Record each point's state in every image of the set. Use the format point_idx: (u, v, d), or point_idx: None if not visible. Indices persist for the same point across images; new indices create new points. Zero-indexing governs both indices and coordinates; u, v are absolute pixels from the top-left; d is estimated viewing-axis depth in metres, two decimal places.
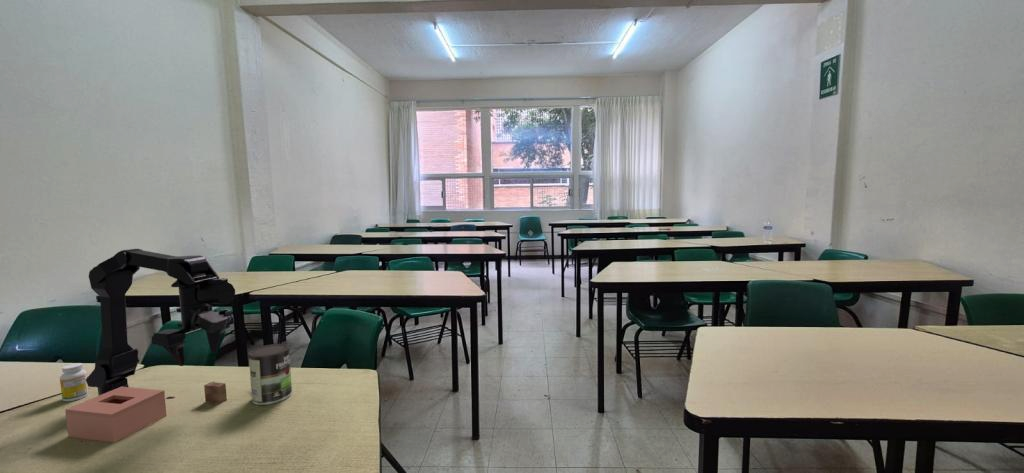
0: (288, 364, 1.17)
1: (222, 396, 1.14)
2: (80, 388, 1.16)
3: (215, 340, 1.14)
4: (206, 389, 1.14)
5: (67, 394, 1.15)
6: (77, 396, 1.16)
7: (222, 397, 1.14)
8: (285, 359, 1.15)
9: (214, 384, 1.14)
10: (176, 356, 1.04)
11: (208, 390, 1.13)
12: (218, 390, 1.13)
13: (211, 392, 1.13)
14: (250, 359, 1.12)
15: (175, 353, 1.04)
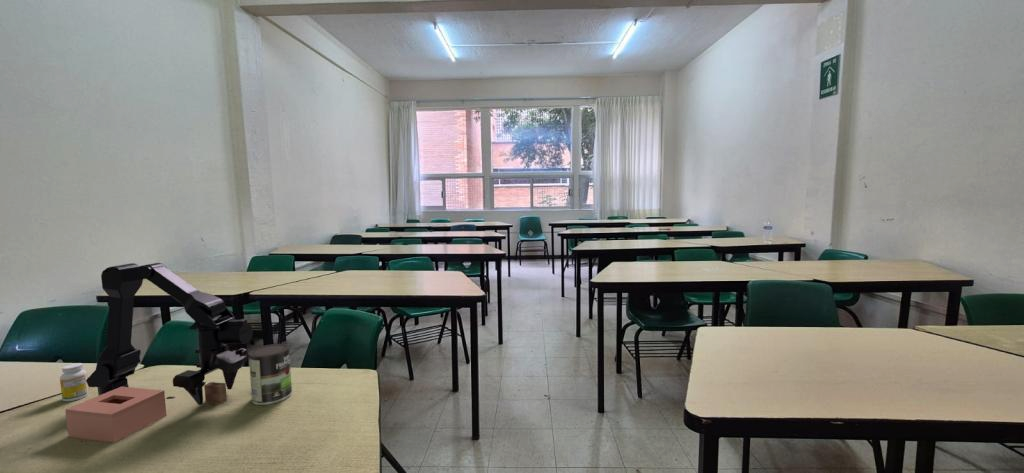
0: (288, 364, 1.17)
1: (222, 396, 1.14)
2: (80, 388, 1.16)
3: (231, 377, 1.19)
4: (206, 389, 1.14)
5: (67, 394, 1.15)
6: (77, 396, 1.16)
7: (222, 397, 1.14)
8: (285, 359, 1.15)
9: (214, 384, 1.14)
10: (195, 396, 1.09)
11: (208, 390, 1.13)
12: (218, 390, 1.13)
13: (211, 392, 1.13)
14: (250, 359, 1.12)
15: (194, 393, 1.08)
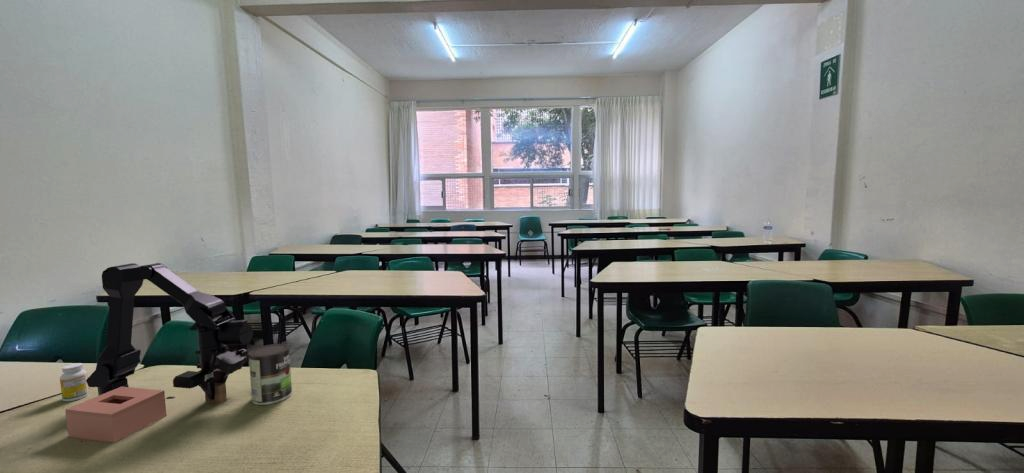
0: (288, 364, 1.17)
1: (222, 396, 1.14)
2: (80, 388, 1.16)
3: None
4: None
5: (67, 394, 1.15)
6: (77, 396, 1.16)
7: (222, 397, 1.14)
8: (285, 359, 1.15)
9: (214, 384, 1.14)
10: (207, 391, 1.12)
11: None
12: (218, 390, 1.13)
13: None
14: (250, 359, 1.12)
15: (206, 388, 1.12)
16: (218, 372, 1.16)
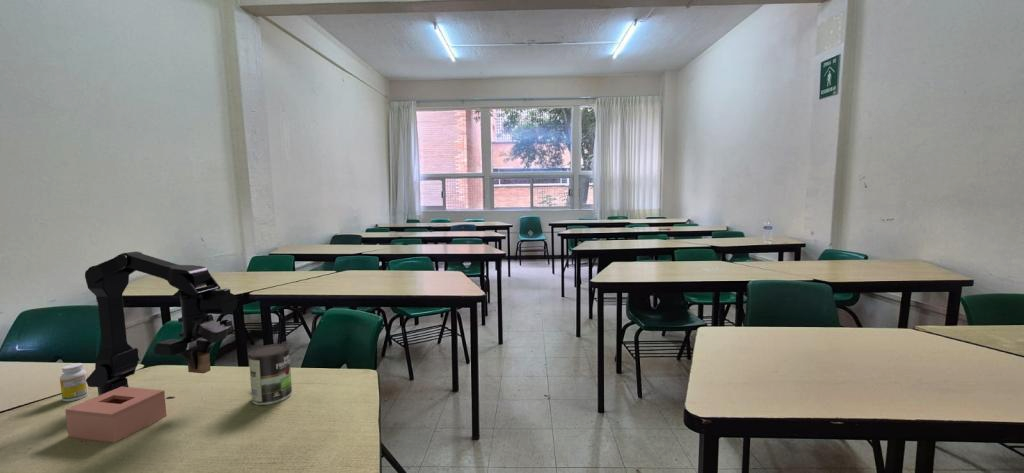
0: (288, 364, 1.17)
1: (206, 366, 1.11)
2: (80, 388, 1.16)
3: None
4: None
5: (67, 394, 1.15)
6: (77, 396, 1.16)
7: (206, 367, 1.11)
8: (285, 359, 1.15)
9: (197, 354, 1.11)
10: (190, 360, 1.09)
11: None
12: (202, 360, 1.10)
13: None
14: (250, 359, 1.12)
15: (189, 357, 1.09)
16: (202, 342, 1.13)
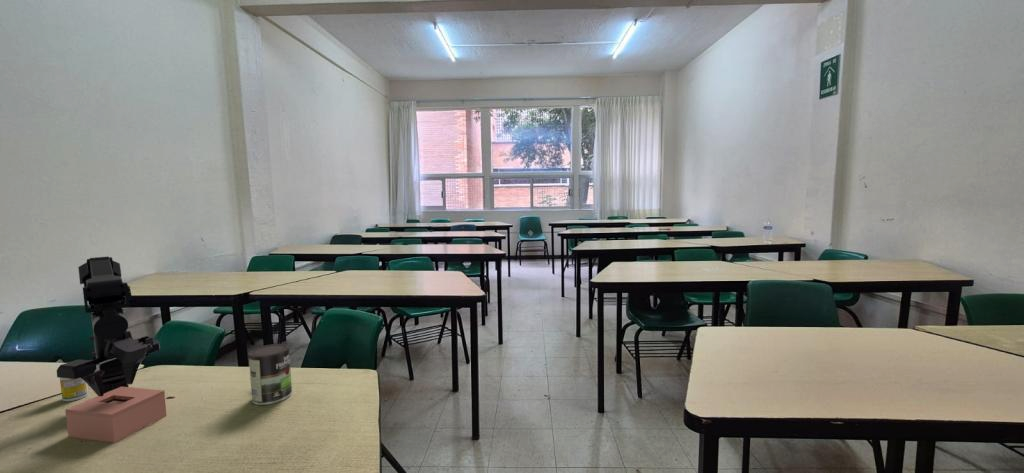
0: (288, 364, 1.17)
1: None
2: (80, 388, 1.16)
3: (131, 371, 1.04)
4: None
5: (67, 394, 1.15)
6: (77, 396, 1.16)
7: None
8: (285, 359, 1.15)
9: (117, 403, 1.02)
10: (94, 386, 0.97)
11: None
12: None
13: None
14: (250, 359, 1.12)
15: (93, 383, 0.97)
16: None
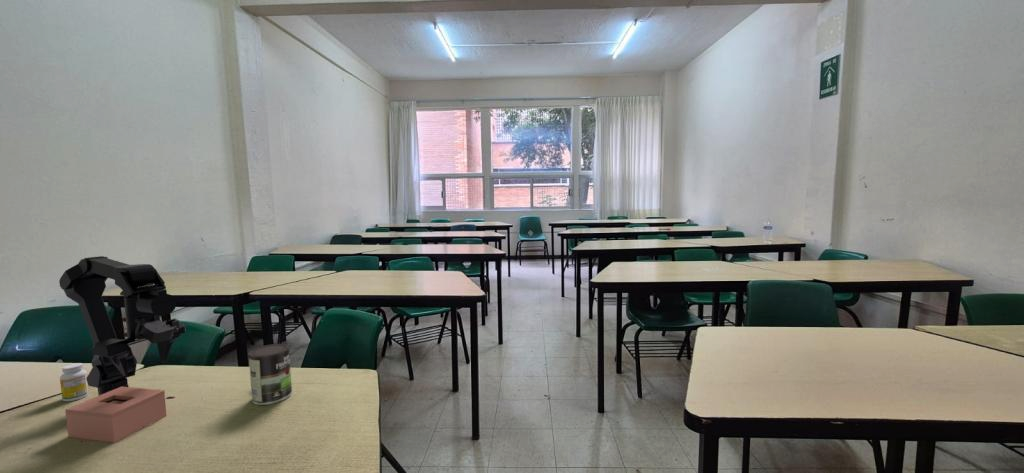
0: (288, 364, 1.17)
1: None
2: (80, 388, 1.16)
3: (165, 349, 1.12)
4: None
5: (67, 394, 1.15)
6: (77, 396, 1.16)
7: None
8: (285, 359, 1.15)
9: (117, 403, 1.02)
10: (119, 366, 1.03)
11: None
12: None
13: None
14: (250, 359, 1.12)
15: (118, 363, 1.03)
16: None
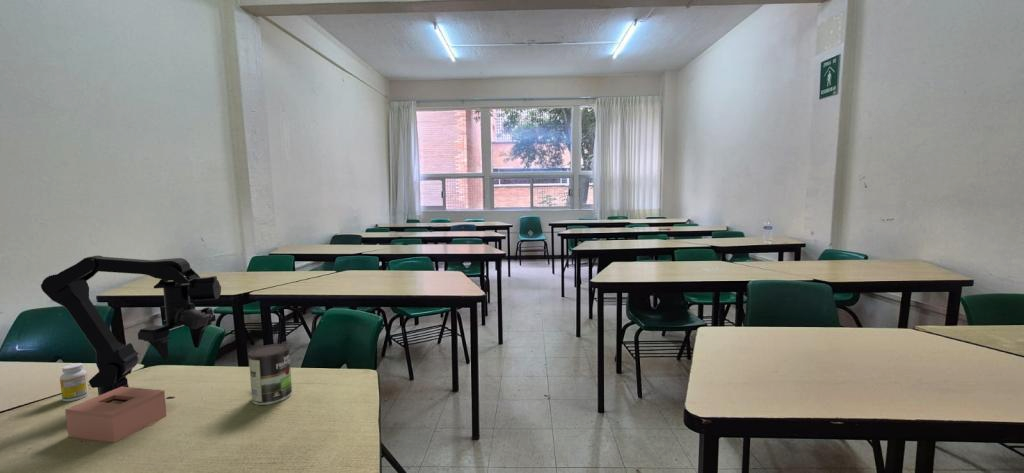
0: (288, 364, 1.17)
1: None
2: (80, 388, 1.16)
3: (198, 336, 1.23)
4: None
5: (67, 394, 1.15)
6: (77, 396, 1.16)
7: None
8: (285, 359, 1.15)
9: (117, 403, 1.02)
10: (161, 350, 1.13)
11: None
12: None
13: None
14: (250, 359, 1.12)
15: (160, 348, 1.13)
16: None
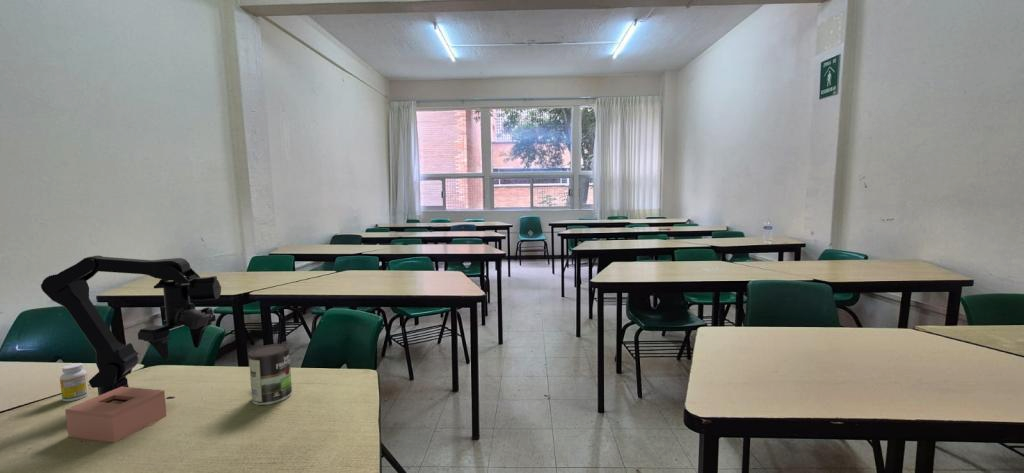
0: (288, 364, 1.17)
1: None
2: (80, 388, 1.16)
3: (198, 336, 1.23)
4: None
5: (67, 394, 1.15)
6: (77, 396, 1.16)
7: None
8: (285, 359, 1.15)
9: (117, 403, 1.02)
10: (161, 350, 1.13)
11: None
12: None
13: None
14: (250, 359, 1.12)
15: (160, 348, 1.13)
16: None
